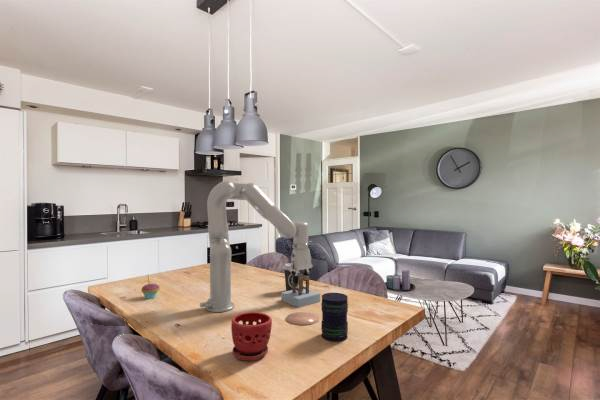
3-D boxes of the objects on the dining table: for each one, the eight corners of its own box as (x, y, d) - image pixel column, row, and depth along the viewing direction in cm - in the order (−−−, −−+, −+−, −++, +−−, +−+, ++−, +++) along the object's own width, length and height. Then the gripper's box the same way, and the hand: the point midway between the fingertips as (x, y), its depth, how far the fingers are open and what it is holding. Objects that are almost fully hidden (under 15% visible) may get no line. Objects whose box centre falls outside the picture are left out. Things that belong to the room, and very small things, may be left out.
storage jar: (353, 336, 118) (353, 296, 118) (337, 344, 111) (338, 302, 111) (331, 328, 125) (331, 291, 125) (315, 336, 118) (316, 296, 118)
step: (298, 307, 150) (298, 299, 150) (281, 300, 161) (281, 292, 161) (320, 301, 159) (320, 293, 159) (302, 295, 170) (302, 287, 170)
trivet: (300, 328, 126) (300, 327, 126) (279, 317, 136) (279, 317, 136) (325, 319, 135) (325, 318, 135) (304, 310, 145) (304, 309, 145)
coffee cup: (301, 289, 181) (301, 263, 181) (299, 294, 171) (299, 266, 171) (284, 288, 182) (284, 262, 182) (282, 293, 172) (282, 266, 172)
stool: (299, 295, 155) (300, 278, 156) (292, 292, 160) (292, 275, 160) (309, 293, 159) (309, 276, 159) (301, 290, 164) (301, 274, 164)
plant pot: (259, 367, 96) (259, 328, 96) (223, 359, 101) (223, 321, 101) (278, 348, 108) (278, 313, 108) (244, 342, 113) (245, 308, 113)
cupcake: (137, 298, 163) (137, 275, 163) (152, 294, 170) (152, 272, 170) (148, 301, 159) (148, 277, 159) (163, 296, 166) (163, 273, 166)
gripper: (292, 249, 151) (292, 286, 151) (318, 246, 162) (318, 281, 162) (282, 247, 157) (282, 283, 157) (308, 244, 168) (308, 278, 168)
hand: (300, 281), depth 160 cm, fingers closed on stool, 6 cm apart
